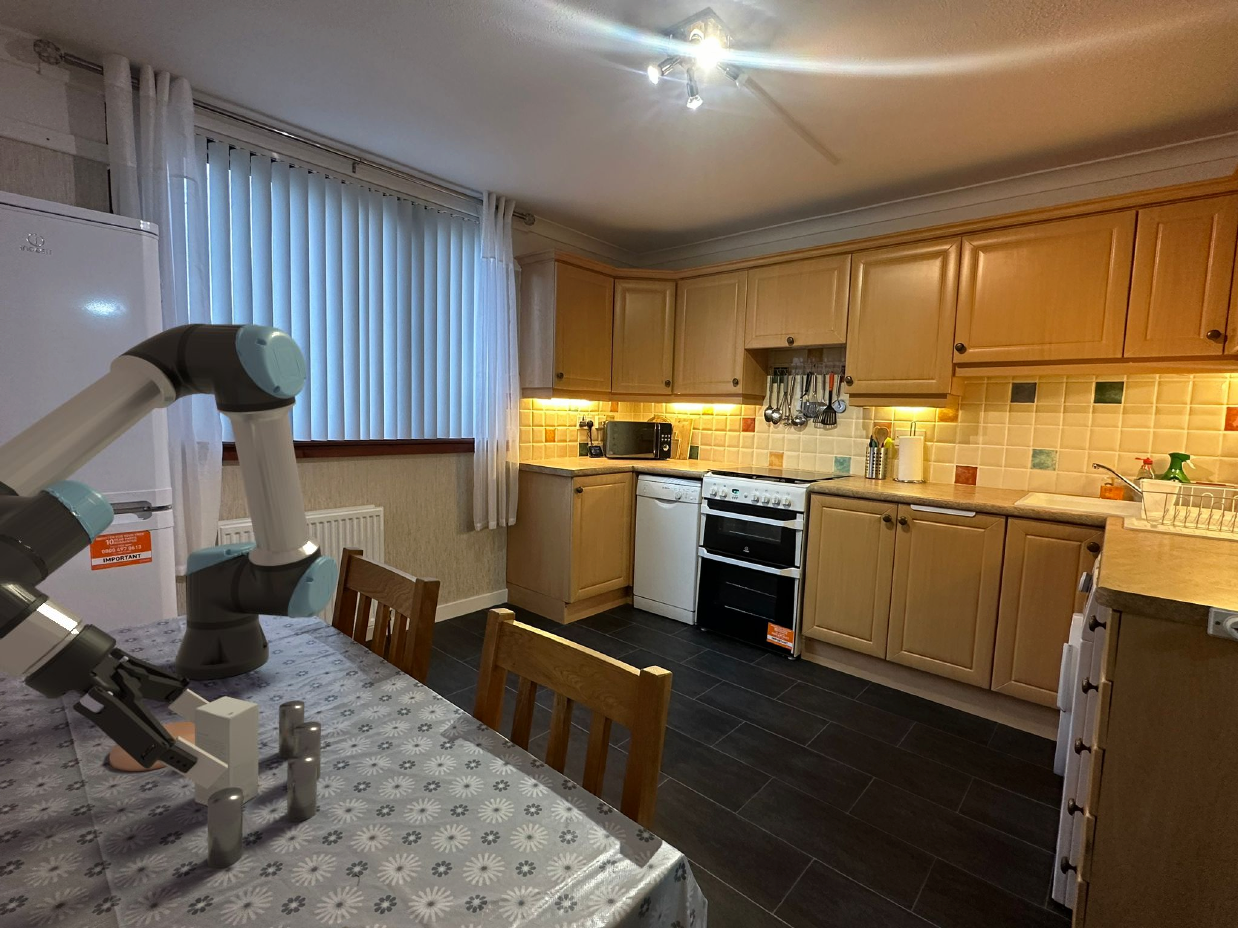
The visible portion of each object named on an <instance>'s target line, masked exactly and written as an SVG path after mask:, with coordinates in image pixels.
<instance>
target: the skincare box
mask: <svg viewBox="0 0 1238 928" xmlns="http://www.w3.org/2000/svg"><path fill="white" fill-rule="evenodd" d="M195 746H197V747H198V748H200V749H202V750H203V751H205V752H207V753H208V754H210V755H212V756H214V757H215V758H217V759H219V760H220V761H222V762H224V763H225V764H227V765H228V768H227V769H226V771H225V772H224V773H223V774H222V775H221V776H220V777H219V778H218V779H217V780H216V781H215V782H214V783H213V784H212V785H211V786H210V787H209V788H208V789H206V788H205V787H203V786H201V785H199V784H197V783H196V782H194V802H195V803H197V804H200V805H204V806H206V807H208V798H209V797H210V796H211V795H212V794H214V793H215V792H217V791H219V790H222V789H225V788H231V787H237V788H240V789H242V790H243V804H245V803H247V802H249V801H250V800H251V799H253V798H255V797H257V796H258V794H259V704H258V703H257V702H256V703H254V702H251V701H246V700H242V699H238V698H233V697H230V696H227V695H225V696H222V697H220V698H217V699H214V700H213V701H211V702H210V703H208V704H206V705H203V706H201V707H198V708H196V709H195Z"/></svg>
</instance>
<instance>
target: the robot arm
mask: <svg viewBox="0 0 1238 928" xmlns="http://www.w3.org/2000/svg"><path fill="white" fill-rule="evenodd" d="M305 379H307V365H306V361H305V357H304V353H303V351H302V349H301V347H300V346H299V344H298V343H297V341H296V339H294V338H293V337H291V336H290V335H289V334H288V333H287V332H286V331H284V330H283V329H281V328H279V327H274V326H266V325H258V324H252V323H251V324H250V323H249V324H247V323H246V324H240V323H239V324H237V323H236V324H235V323H233V324H232V323H231V324H230V323H229V324H226V323H225V324H223V323H222V324H217V323H215V324H211V323H207V324H206V323H188V324H187V323H186V324H182V325H177V326H175V327H172V328H168V329H166V330H164V331H162V332H161V331H160V332H159V333H157V334H155V335H152V336H151V337H149V338H147V339H145V340H143V341H141V342H139V343H138V344H136V345H133V346H132V347H131V348H129V349H128V350H126V351H125V352H123V353H122V354H120V355H119V356H117V357H116V358H114V359H113V360H112V361H111V363H110V366H109V372H108V373H106V374H104V375H103V376H102V377H100V378H99V379H97V380H96V381H95V382H93V383H92V384H90V385H89V386H87V387H85V388H84V389H82V390H81V391H80V392H78V393H77V394H75V395H74V396H73V397H71V398H70V399H68V400H67V401H65V402H64V403H62V404H60V406H58V407H56V408H55V409H53V410H52V411H51V412H49V413H48V414H47V415H45V416H43V417H42V418H41V419H39V420H37V421H36V422H34V423H33V424H32V425H30V426H29V427H27V428H26V429H24V430H23V431H21V432H20V433H19V434H17V435H16V436H14V437H13V438H11V439H9V440H8V441H7V442H5V443H4V444H3V445H1V446H0V671H1V672H3V673H5V674H7V675H9V676H11V677H13V678H17V677H21V676H23V675H24V676H25V678H24V681H23V682H24V685H25V686H28V687H29V688H31V689H33V690H34V691H36V692H38V693H40V694H42V695H44V696H45V697H47V698H49V699H51V700H56V699H59V698H61V697H63V696H65V695H66V694H67V693H68V692H70V691H75V692H76V693H77V694H79V695H80V697H82V698H80V699H79V700H78V701H77V702H76V703H74V705H72V709H73V710H74V711H75V712H77V713H78V714H80V715H81V716H83V717H85V718H86V719H87V720H89V721H91V722H92V723H93V724H94V725H95V726H96V727H98V728H99V730H100V731H102V732H103V733H104V734H105V735H106V736H108V737H109V738H110V739H111V740H112V741H113V742H114V743H115V744H116V745H117V744H118V745H119V746H120V747H121V748H122V749H123V750H125V751H126V752H127V753H128V754H129V755H130V756H131V757H132V758H133V759H135V760H136V761H137V762H138V763H139V764H140V765H141V766H143V767H144V768H148V769H149V768H150V767H151V766H152V765H153V764H154V763H155V762H156V761H158V762H160V763H162V764H164V765H165V766H166V767H167V768H169V769H171V770H173V771H175V773H178V774H180V775H182V776H183V777H185V778H187V779H189V780H191V781H192V782H193V783H195V782H196V783H197V784H199V785H201V786H203V787H205V788H206V789H208V788H209V787H210V786H211V785H212V784H213V783H214V782H215V781H216V780H217V779H218V778H219V777H220V776H221V775H222V774H223V773H224V772H225V771H226V769H227V768H228V765H227V764H225V763H224V762H222V761H220V760H219V759H217V758H215V757H214V756H212V755H210V754H208V753H207V752H205V751H203V750H202V749H200V748H198V747H197V746H195V745H193V744H192V743H190V742H188V741H186V740H185V739H183V738H181V737H180V736H178V737H177V738H176V739H174V738H173V737H172V736H171V735H170V734H169V732H168V731H167V730H166V729H165V728H164V727H163V726H162V725H163V724H162V723H161V722H160V721H159V720H158V719H157V718H156V716H155V715H154V714H153V713H152V712H151V711H150V710H149V708H148V707H146V705H145V704H144V703H143V702H142V699H143V700H144V699H145V700H149V701H155V702H160V703H165V704H169V705H168V709H169V710H171V711H172V712H174V713H176V714H177V715H178V716H180V717H182V718H184V719H185V720H186V721H190V722H192V723H194V724H195V709H196V708H198V707H201V706H203V705H206V704H208V703H210V702H209V701H208V700H207V699H205V698H203V697H201V695H198V693H195V692H194V691H193V690H190V689H189V688H187V687H188V686H189V685H191V683H192V681H191V680H201V681H202V680H213V679H215V680H217V679H221V678H223V679H224V678H229V677H232V676H237V675H241V674H244V673H248V672H250V671H253V670H255V669H258V668H259V667H261V666H263V665H264V664H265V663H266V662H268V660H269V659H270V658H269V657H270V647H269V646H270V645H269V643H268V641H267V638H266V635H265V633H264V630H263V627H262V626H261V623H260V617H259V616H271V617H272V616H273V617H274V616H275V617H286V618H290V619H297V618H300V619H301V618H304V619H305V618H306V619H307V618H309V619H310V618H313V617H317V615H320V613H322V612H323V611H324V610H325V609H326V608H327V606H328V605H329V603H330V602H331V600H332V597H333V596H334V594H335V592H336V588H337V583H338V579H339V567H338V564H337V561H336V560H335V559H334V558H333V557H331V556H329V555H325V554H324V555H322V550H321V545H320V541H319V540H318V538H316V537H314V536H312V535H310V533H309V528H308V522H307V517H306V516H307V515H306V512H305V505H304V500H303V493H302V488H301V481H300V477H299V470H298V465H297V464H298V463H297V459H296V453H295V448H294V441H293V434H292V428H291V424H290V417H289V412H290V410H291V409H293V407H294V406H296V404H297V402H296V401H297V400H296V396H298V395H299V394H300V393H301V392H302V391H303V390H304V387H305V386H306V382H305ZM193 395H212V396H213V395H214V401H215V405H216V409H217V412H219V413H221V414H222V415H223V416H225V417H226V418H228V419H229V420H230V424H231V429H232V434H233V439H234V444H235V449H236V454H237V458H238V459H237V460H238V463H239V468H240V473H241V478H242V482H243V483H242V484H243V487H244V492H245V497H246V502H247V506H248V512H249V517H250V522H251V526H252V532H253V537H254V541H243V542H233V543H226V544H220V545H214V546H213V545H212V546H210V547H205V548H200V549H198V550H195V551H193V552H191V553H190V554H189V555H188V557H187V559H186V570H185V571H186V572H184V573H185V574H184V576H185V604H186V605H185V606H186V607H185V608H186V611H185V612H186V615H185V617H186V619H185V620H186V622H185V623H186V628H185V632H184V636H183V637H182V640H181V643H180V646H179V649H178V651H177V655H176V656H175V658H174V660H175V661H174V672H172V671H170V670H167V669H166V668H165V669H164V668H162V667H160V666H158V665H155V664H152V663H150V662H148V661H146V660H143V659H140V658H138V657H136V656H133V655H132V654H129V653H128V652H126V651H124V650H122V649H121V648H119V647H116V645H117V639H116V638H115V637H113V636H112V635H110V634H109V633H106V632H105V631H104V630H103V629H101V628H99V627H97V626H96V625H94V624H92V623H91V624H88V623H86V624H85V625H83V624H82V622H83V616H81V615H80V614H79V613H76V612H74V611H73V610H72V609H70V608H68V607H67V606H65V605H63V604H62V603H61V602H59V601H57V600H55V599H54V598H53V597H50V596H49V595H47V594H46V593H44V592H42V591H41V590H40V589H38V588H37V586H39V585H40V584H41V583H42V582H44V581H45V580H46V579H47V578H48V577H49V576H51V575H52V574H53V573H55V572H56V571H57V570H58V569H60V568H61V567H63V565H64V564H66V563H68V562H69V561H70V560H72V559H73V558H74V557H75V556H77V555H79V553H80V552H83V550H84V549H86V548H87V547H89V545H92V544H94V542H95V539H97V538H98V537H99V536H100V535H101V534H102V533H103V532H104V531H105V530H107V529H108V528H109V527H110V526H111V525H112V524H113V522H114V520H115V512H114V508H113V506H112V505H111V504H110V503H109V501H108V498H107V497H106V496H105V495H104V494H103V493H101V492H100V491H99V490H97V489H96V488H94V487H93V486H91V485H89V484H87V483H83V482H81V481H78V480H73V479H68V478H70V477H71V476H72V475H74V474H75V473H76V472H77V471H79V470H80V469H81V468H83V466H85V465H86V464H87V463H89V462H90V461H91V460H92V459H94V458H95V457H96V456H98V454H100V453H101V452H103V450H105V449H107V448H108V447H109V445H111V444H112V443H114V442H115V441H116V440H117V439H118V438H120V437H121V436H122V435H124V434H125V433H126V432H128V430H130V429H131V428H132V427H134V426H135V425H136V424H137V423H139V422H140V421H141V420H142V419H144V418H145V417H146V416H147V415H149V414H150V413H152V411H153V410H155V409H164V408H169V407H170V406H172V405H173V404H174V403H175V402H176V401H178V400H179V399H182V398H185V397H188V396H193ZM170 703H171V704H170ZM153 745H154V746H153Z"/></svg>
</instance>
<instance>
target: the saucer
mask: <svg viewBox="0 0 1238 928" xmlns="http://www.w3.org/2000/svg"><path fill="white" fill-rule="evenodd" d="M161 725H162V726H163V727H164V728H165V729H166V730H167V731H168V732H169V734H170V735H171V736H172V737H173V738H174V739H176V738H177V737H178V736H180V737H181V738H183V739H185V740H186V741H188V742H190V743H192V744H193V745H195V724H194V723H192V722H190V721H189V720H186V721H175V722H174V721H173V722H169V723H165V724H161ZM153 746H154V745H153ZM109 764H110V765H111V767H113V768H114V769H117V770H120V771H124V772H129V771H130V772H140V771H141V772H142V771H151V770H157V769H161V768H166V767H167V766H165V765H164V764H162V763H160V762H158V761H156V762H155V763H154V764H153V765H152V766H151V767H150V768H149V769H148V768H144V767H143V766H141V765H140V764H139V763H138V762H137V761H136V760H135V759H133V758H132V757H131V756H130V755H129V754H128V753H127V752H126V751H125V750H123V749H122V748H121V747H120V746H119V745H118V744H117V743H116V744H115V746H113V747H112V748H111V750H110V753H109Z"/></svg>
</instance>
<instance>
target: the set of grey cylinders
mask: <svg viewBox="0 0 1238 928" xmlns="http://www.w3.org/2000/svg"><path fill="white" fill-rule="evenodd" d="M321 741H322V724H321V723H320V722H318V721H314V720H313V721H306V722H305V702H304V701H303V700H290V701H286V702H283V703H282V704H280V705H279V706H278V757H279V758H280V759H283V760H284V759H285V760H287V763H286V764H287V769H286V770H287V772H286V773H287V774H286V775H287V776H286V777H287V779H286V780H287V781H286V819H287V820H288V821H289V822H293V823H301V822H304V821H306V820H309V819H311V818H312V817H313V816H315V814H316V813H317V805H318V804H317V800H318V799H317V798H318V797H317V796H318V795H317V794H318V791H317V790H318V780H319V779H320V778H321V766H322V765H321V764H322V763H321V760H322V759H321V758H322V756H321V754H322V753H321V751H322V750H321V749H322V742H321ZM243 820H244V803H243V790H242V789H240V788H237V787H231V788H225V789H222V790H219V791H217V792H215V793H214V794H212V795H211V796H210V797H209V798H208V806H207V866H208V867H209V868H210V869H214V870H215V869H216V870H217V869H223V868H226V867H230V866H231V865H234V864H236V863H237V862H238V861H239V860H240V859H241V858H242V856H243V851H244V850H243V848H244V847H243V845H244V843H243V842H244V840H243V839H244V838H243V836H244V835H243V834H244V821H243Z"/></svg>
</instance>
